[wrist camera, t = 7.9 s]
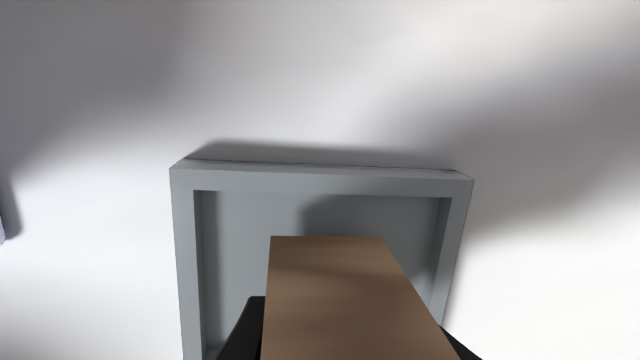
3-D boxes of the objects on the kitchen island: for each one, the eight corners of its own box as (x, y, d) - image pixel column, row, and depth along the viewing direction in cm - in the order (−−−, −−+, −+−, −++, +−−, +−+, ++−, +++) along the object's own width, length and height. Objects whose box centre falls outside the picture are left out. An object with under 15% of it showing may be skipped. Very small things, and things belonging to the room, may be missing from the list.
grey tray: (193, 350, 16) (184, 377, 14) (181, 158, 13) (169, 168, 11) (419, 343, 17) (431, 367, 16) (455, 170, 14) (474, 180, 13)
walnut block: (268, 329, 13) (256, 509, 8) (270, 235, 12) (259, 368, 6) (369, 326, 14) (427, 492, 8) (381, 236, 13) (460, 360, 7)
